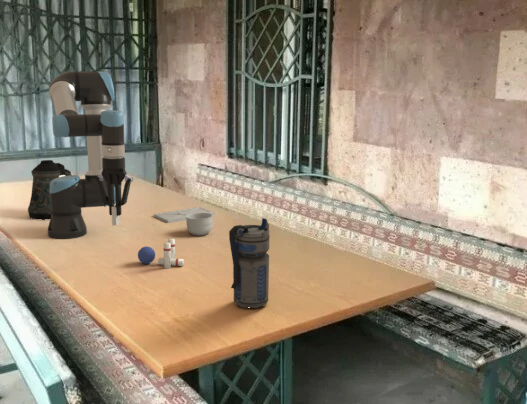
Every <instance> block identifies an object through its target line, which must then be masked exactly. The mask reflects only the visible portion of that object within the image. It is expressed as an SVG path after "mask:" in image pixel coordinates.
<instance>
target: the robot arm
mask: <svg viewBox="0 0 527 404" xmlns="http://www.w3.org/2000/svg"><path fill="white" fill-rule="evenodd" d="M48 86H49V87H48V95H49V99H50V100H51V102H53V104H54V110H55V114H54V115H52V116H51V117H52V124H51V125H52V134H53V136H55V137H56V138H57V137H58V138H73V137H74V138H75V137H86V144H87V145H86V147H87V148H86V149H87V162H88V164H87V166H88V170H87V171H86V172H85V174H84V178H81V177H80V176H79V175H76V174H73V175H72V174H71V175H69V176H65V175H62V176H59V177H58V178H56V179H53V180H52V181H51V182H50V191H49V193H50V200H51V219H50V220H49V224H48V226H47V236H48V237H49V238H52V239H74V238H79V237H83V236H84V235H87V233H88V229H87V225H86V222H85V220H84V217H83V215H82V208H86V209H87V208H97V207H99V208H100V207H104V208H106V207H108V213H109V216H111V224H112V226H118V225H119V224H120V216H121V215H122V206H125V205H126V204H127V202H128V198H129V193H130V189H131V184H132V182H133V181H134V177H132V176H131V177H130V176H129V175H128V174H127V171H126V158H125V156H126V152H125V149H126V148H125V118H124V113H123V111H122V110H117V109H116V110H112V109H111V110H109V109H110V107H111V106H112V102H114V101H115V100H116V99H115V98H116V97H115V89H114V82H113V79H112V77H111V75H110V74H109V72H106V71H98V70H95V71H90V70H89V71H77V70H76V71H74V70H71V71H65V72H63V73H60V74H58V75H57V76H55V78H53V79H52V81H51V82H50V84H49V85H48ZM76 102H80V106H81V107H82V109H84V111H85V114H83V113H82V114H79V110H78V107H77V103H76ZM123 182H125V183H124V185H123V191H122V184H123Z"/></svg>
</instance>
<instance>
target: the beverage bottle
mask: <svg viewBox="0 0 527 404" xmlns="http://www.w3.org/2000/svg"><path fill="white" fill-rule="evenodd" d="M228 232H229V234H228V235H229V236H228V238H229V244H230V245H229V246H230V252H231V253H230V254H231V258H232V265H233V266H232V268H233V269H232V270H233V273H232V275H233V283H232V285H231V287H230V288H231V289H233V302H234V304H235V305H236V306H237V307H239V306H240V308H243V309H247V308H248V307H250V308H255V309H259V308H258V307H260V308H263V307H264V305H265V306H266V305H267V303H268V302H269V292H270V291H269V289H270V288H269V287H270V285H269V283H270V281H269V280H270V275H269V274H270V255H269V253H268V251H269V250H270V240H271V239H270V238H271V237H270V236H271V234H270V224H269V222H268V219H267V218H264V217H262V218H261V225H259V224H244V225H243V224H238V225H237V224H236V225H234V226H233V227H232V228H231V229H230V230H229V231H228ZM262 306H263V307H262Z"/></svg>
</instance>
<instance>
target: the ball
mask: <svg viewBox="0 0 527 404" xmlns="http://www.w3.org/2000/svg"><path fill="white" fill-rule="evenodd" d="M137 258H138V260H139V261H140V262H141V263H142V264H145V265H146V264H151V263H153V262H154V260H155V259H156V252H155V250H154V249H153V248H152V247H150V246H143V247H141V248H140V249H139V250H138V253H137Z"/></svg>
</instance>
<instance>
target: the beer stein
mask: <svg viewBox="0 0 527 404" xmlns="http://www.w3.org/2000/svg"><path fill="white" fill-rule="evenodd" d="M69 175H72V172H71V170H69V169H67V168H65V164H64V165H63V164H62V163H60V162H54V161H53V160H51V159H46V160H43V159H42V160H40V162H39V163H38V164H37V165H36V166H35V167H34V168H33V169H32V170H31V176H32V185H31V195H30V201H29V203H28V204H29V205H28V208H27V213H28V216H29V219H31V218H32V220H34V219H42V220H41V221H46V220H45V219H51V200H50V193H49V191H50V182H51V181H52V180H53V179H56V178H58V177H62V176H69Z"/></svg>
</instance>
